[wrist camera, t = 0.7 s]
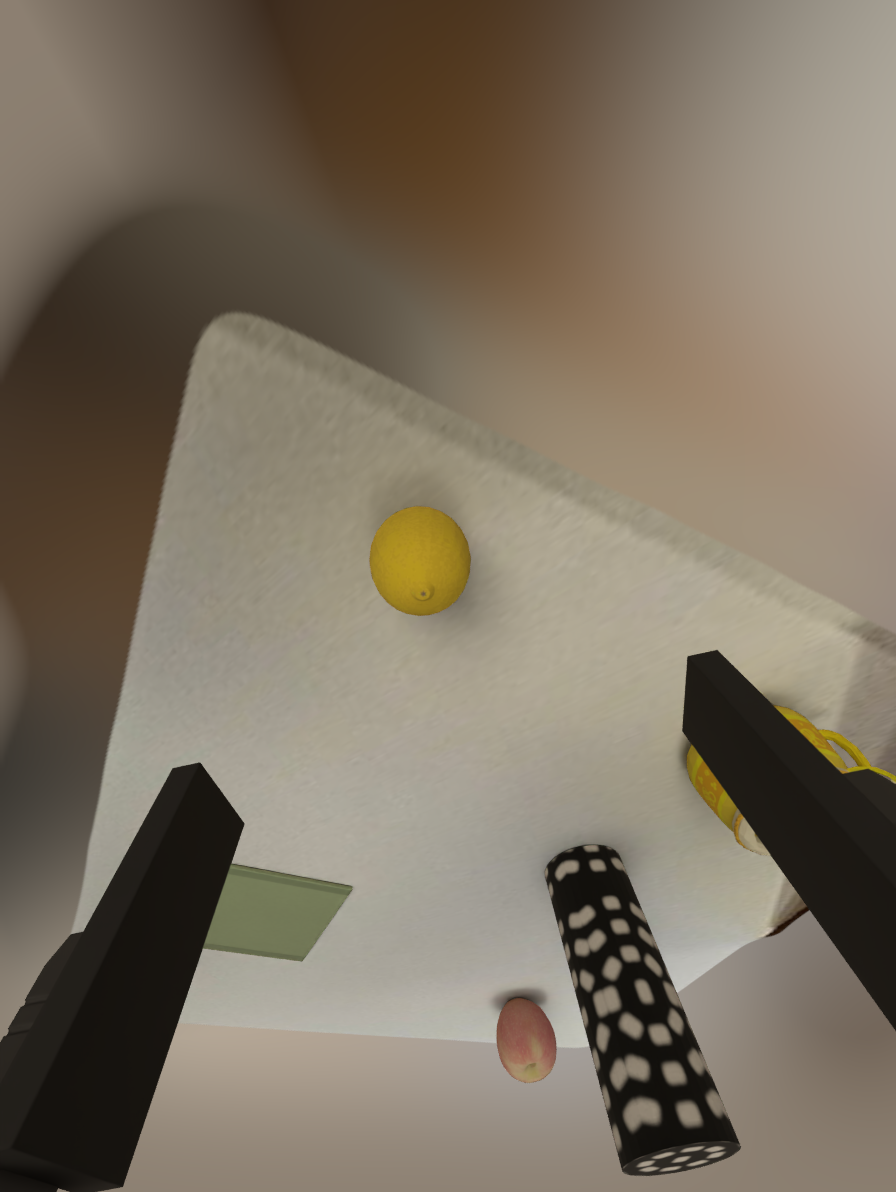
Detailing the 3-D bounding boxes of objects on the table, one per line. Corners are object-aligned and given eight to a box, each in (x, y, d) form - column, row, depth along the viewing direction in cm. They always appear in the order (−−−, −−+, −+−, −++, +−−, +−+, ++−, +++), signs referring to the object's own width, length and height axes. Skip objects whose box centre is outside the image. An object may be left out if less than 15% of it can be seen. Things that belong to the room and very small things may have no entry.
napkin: (157, 939, 49) (156, 942, 48) (191, 856, 42) (189, 859, 42) (302, 958, 53) (302, 961, 53) (352, 886, 47) (352, 889, 47)
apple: (556, 990, 64) (574, 1070, 57) (528, 1013, 67) (543, 1091, 60) (507, 984, 61) (521, 1066, 54) (481, 1008, 64) (491, 1089, 58)
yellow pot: (681, 793, 44) (768, 935, 33) (673, 716, 38) (772, 856, 28) (816, 756, 43) (949, 890, 32) (826, 671, 37) (990, 799, 27)
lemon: (461, 570, 30) (478, 639, 23) (377, 574, 30) (369, 645, 23) (462, 488, 27) (481, 537, 20) (370, 490, 27) (357, 542, 20)
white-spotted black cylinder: (551, 846, 46) (638, 1149, 29) (628, 842, 47) (759, 1135, 30) (539, 891, 50) (610, 1181, 33) (611, 887, 51) (717, 1167, 34)
